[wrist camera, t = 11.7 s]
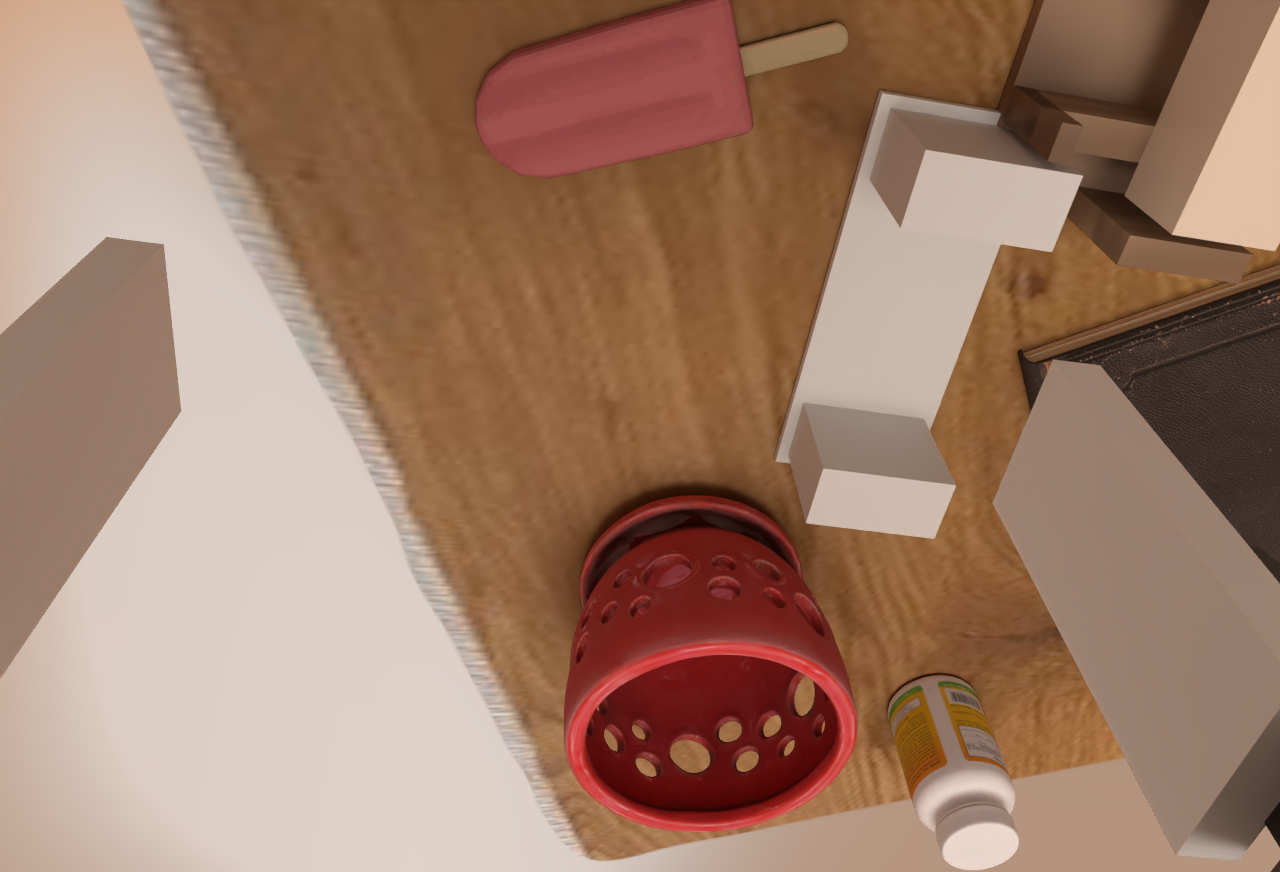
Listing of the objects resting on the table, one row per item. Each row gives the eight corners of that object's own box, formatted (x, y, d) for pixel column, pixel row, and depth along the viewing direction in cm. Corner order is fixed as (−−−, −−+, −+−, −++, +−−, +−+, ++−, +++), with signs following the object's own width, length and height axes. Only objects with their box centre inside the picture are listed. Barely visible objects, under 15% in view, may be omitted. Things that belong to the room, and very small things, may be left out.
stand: (879, 90, 41) (916, 133, 36) (1042, 117, 42) (1101, 164, 37) (774, 455, 51) (792, 530, 46) (909, 473, 52) (941, 548, 47)
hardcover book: (1369, 221, 46) (1403, 241, 44) (1374, 584, 57) (1401, 612, 55) (1012, 345, 48) (1028, 368, 47) (1086, 665, 60) (1102, 695, 58)
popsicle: (859, 107, 41) (498, 197, 42) (852, 97, 42) (501, 185, 44) (842, -35, 38) (455, 67, 39) (834, -42, 39) (460, 58, 41)
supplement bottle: (892, 742, 63) (933, 887, 54) (880, 682, 60) (922, 826, 52) (980, 725, 62) (1036, 869, 54) (972, 663, 59) (1030, 806, 51)
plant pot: (534, 618, 56) (517, 801, 46) (634, 436, 50) (640, 602, 40) (743, 685, 60) (769, 870, 50) (862, 522, 53) (920, 696, 43)
